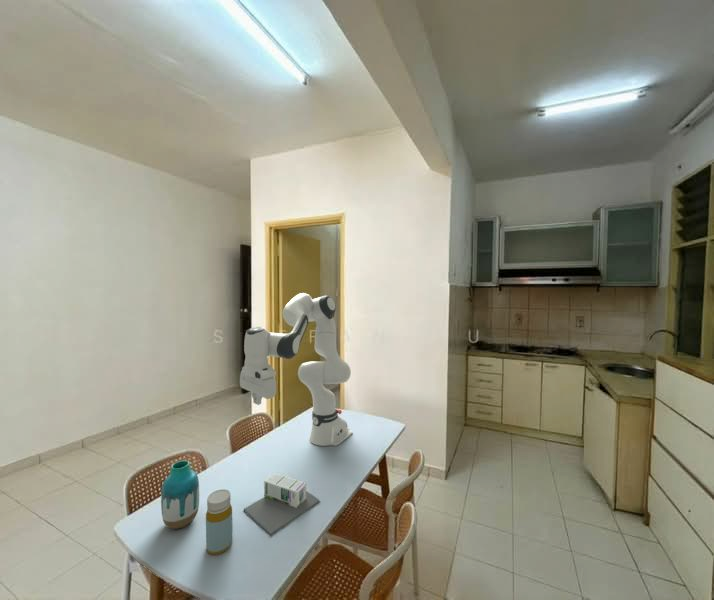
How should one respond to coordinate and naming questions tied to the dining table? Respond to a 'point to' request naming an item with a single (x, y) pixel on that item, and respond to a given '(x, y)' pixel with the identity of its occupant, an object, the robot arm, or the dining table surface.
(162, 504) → the vase
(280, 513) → the mat
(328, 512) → the dining table surface
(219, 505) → the bottle
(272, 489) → the syrup box
